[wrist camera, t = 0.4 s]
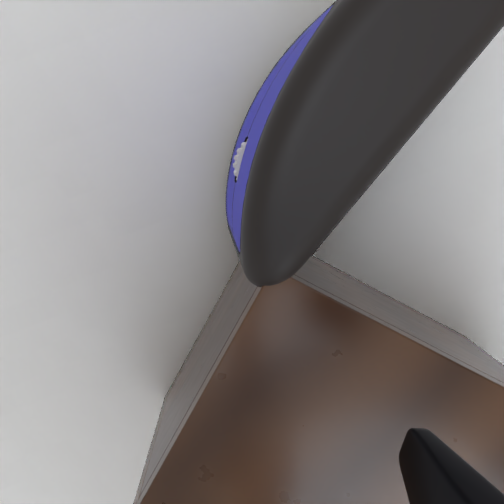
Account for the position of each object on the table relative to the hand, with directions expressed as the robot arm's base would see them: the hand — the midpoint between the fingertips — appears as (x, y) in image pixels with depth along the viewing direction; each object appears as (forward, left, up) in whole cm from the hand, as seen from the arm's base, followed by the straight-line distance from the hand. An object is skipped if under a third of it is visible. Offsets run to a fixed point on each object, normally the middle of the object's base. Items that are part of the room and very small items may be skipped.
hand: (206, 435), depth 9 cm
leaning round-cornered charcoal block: (+10, -1, -15) cm, 18 cm away
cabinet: (-3, -8, -15) cm, 17 cm away
